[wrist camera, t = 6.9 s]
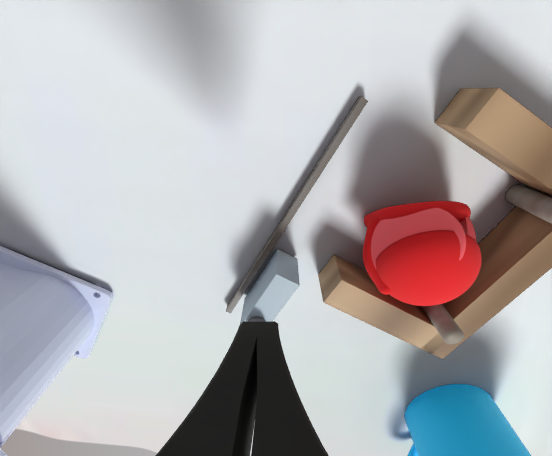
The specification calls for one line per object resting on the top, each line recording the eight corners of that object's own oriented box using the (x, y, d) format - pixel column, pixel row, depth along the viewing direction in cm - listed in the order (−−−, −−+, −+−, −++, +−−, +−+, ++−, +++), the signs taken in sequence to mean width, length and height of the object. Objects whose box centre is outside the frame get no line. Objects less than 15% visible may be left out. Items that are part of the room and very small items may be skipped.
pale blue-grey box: (244, 298, 22) (237, 337, 18) (277, 249, 20) (276, 282, 16) (263, 306, 22) (259, 347, 18) (297, 258, 20) (300, 293, 17)
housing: (227, 305, 22) (214, 353, 18) (394, 39, 14) (438, 20, 10) (376, 371, 25) (394, 425, 21) (583, 178, 17) (675, 205, 13)
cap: (353, 196, 15) (355, 315, 14) (494, 186, 12) (503, 328, 12) (369, 216, 22) (371, 295, 21) (460, 212, 20) (465, 300, 19)
